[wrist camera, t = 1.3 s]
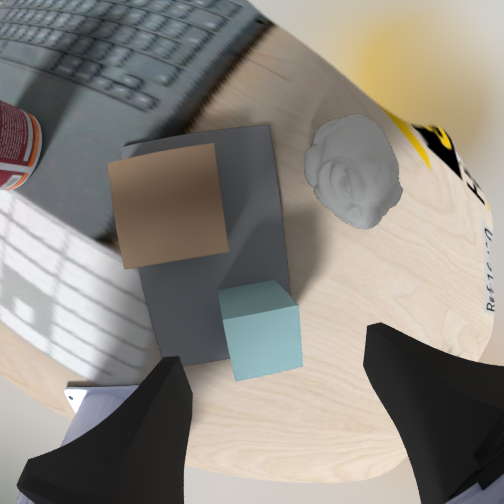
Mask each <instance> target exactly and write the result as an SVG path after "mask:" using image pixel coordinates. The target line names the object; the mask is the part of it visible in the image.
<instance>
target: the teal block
mask: <svg viewBox="0 0 504 504" xmlns="http://www.w3.org/2000/svg"><path fill="white" fill-rule="evenodd" d="M217 291H218V297H219V303H220V308H221V314H222V319H223V325H224V330H225V335H226V340H227V345H228V350H229V354H230V359H231V364H232V369H233V373H234V378H235V381H240V380H246V379H251V378H255V377H260V376H265V375H269V374H274V373H278V372H282V371H286V370H291V369H294V368H298V367H302V366H303V359H302V344H301V330H300V317H299V305H298V304H297V303H296V302H295V301H294V299H293V298H292V297H291V296H290V295H289V294H288V293H287V292H286V291H285V290H284V289H283V288H282V287H281V286H280V284H279V283H278V282H277V281H276V280H271V281H265V282H260V283H254V284H249V285H243V286H238V287H232V288H226V289H221V290H217Z"/></svg>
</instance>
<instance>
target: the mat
mask: <svg viewBox="0 0 504 504" xmlns="http://www.w3.org/2000/svg"><path fill="white" fill-rule="evenodd" d="M209 143H214V148H215V156H216V163H217V171H218V178H219V185H220V193H221V200H222V207H223V214H224V221H225V227H226V234H227V241H228V247H229V252H225V253H219V254H213V255H207V256H201V257H195V258H189V259H183V260H177V261H171V262H165V263H159V264H153V265H147V266H141V267H138V269H139V273H140V278H141V282H142V286H143V291H144V295H145V299H146V303H147V307H148V310H149V314H150V318H151V321H152V325H153V328H154V332H155V335H156V339H157V342H158V345H159V349H160V352H161V355H162V358H164V357H171V356H179V357H180V360H181V363H182V366H186V365H193V364H200V363H206V362H212V361H219V360H224V359H230V354H229V350H228V345H227V340H226V335H225V330H224V325H223V319H222V314H221V308H220V303H219V297H218V291H217V290H221V289H226V288H232V287H238V286H243V285H249V284H254V283H260V282H265V281H271V280H276V281H277V282H278V283H279V284H280V286H281V287H282V288H283V289H284V290H285V291H286V292H287V293H288V294H289V295H290V296H291V293H290V283H289V274H288V264H287V255H286V246H285V238H284V229H283V221H282V213H281V205H280V197H279V189H278V182H277V174H276V167H275V160H274V153H273V146H272V140H271V133H270V126H269V125H263V126H250V127H239V128H229V129H221V130H212V131H205V132H198V133H191V134H185V135H179V136H173V137H167V138H162V139H157V140H152V141H147V142H142V143H138V144H133V145H129V146H125V147H120V149H121V160H123V159H127V158H132V157H136V156H141V155H146V154H150V153H155V152H161V151H166V150H171V149H177V148H183V147H189V146H196V145H202V144H209Z"/></svg>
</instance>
